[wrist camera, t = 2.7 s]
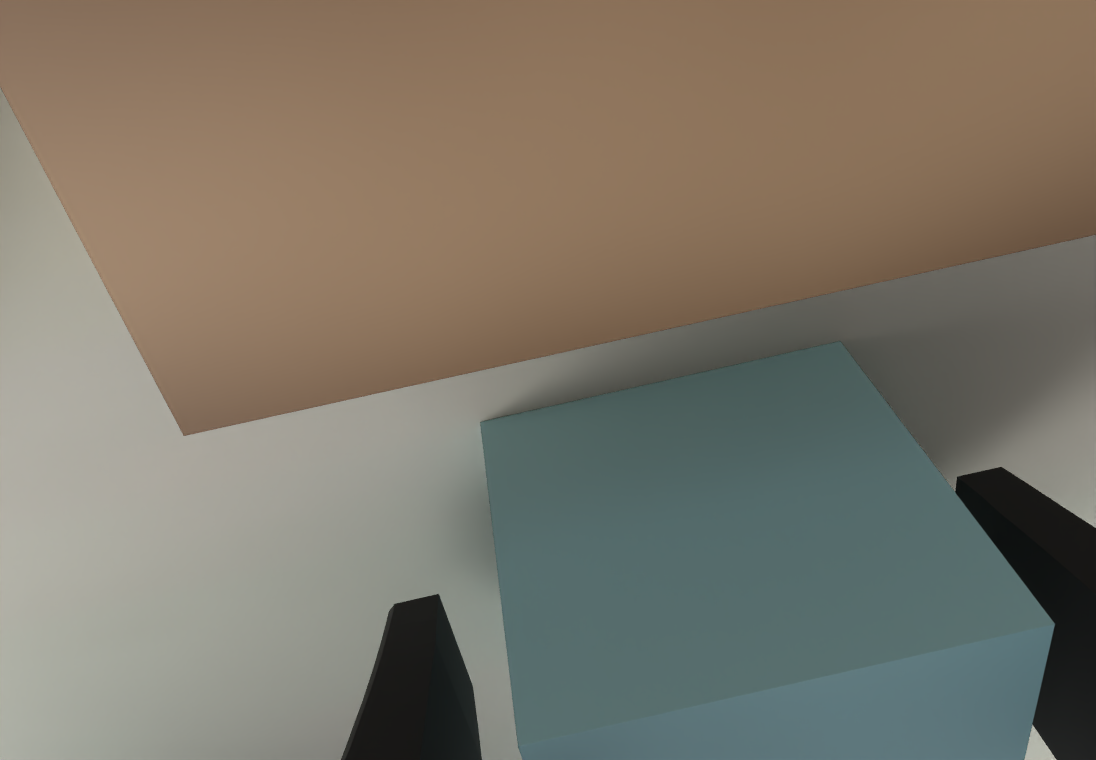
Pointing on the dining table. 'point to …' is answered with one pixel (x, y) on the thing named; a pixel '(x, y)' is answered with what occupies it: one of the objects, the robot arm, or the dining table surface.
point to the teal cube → (752, 578)
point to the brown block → (528, 169)
